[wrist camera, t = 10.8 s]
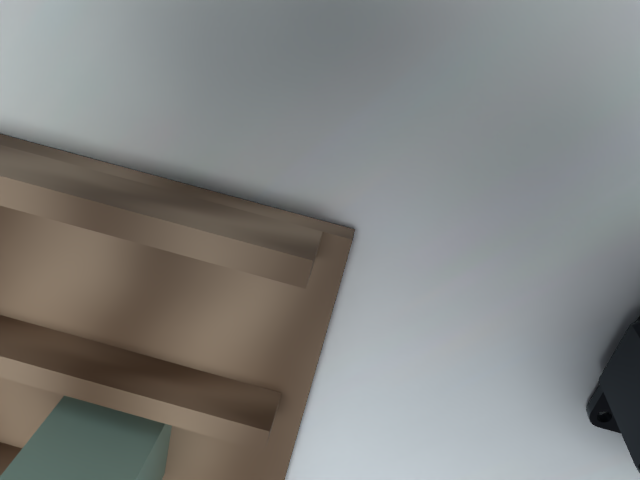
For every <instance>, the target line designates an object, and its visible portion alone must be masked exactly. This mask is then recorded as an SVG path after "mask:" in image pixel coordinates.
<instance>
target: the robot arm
mask: <svg viewBox="0 0 640 480" xmlns="http://www.w3.org/2000/svg"><path fill="white" fill-rule="evenodd" d="M599 383H600V385H599V387H598V388H597V390H596V392H595V393H594V395H593V397H592V398H591V400H590V402H589V404H588V405H587V409H586V411H587V414H588V417H589V420H590V422H591V423H592V424H593V425H595V426H597V427H600V428H603V429H607V430H611V431H614V432H618V433H621V434H622V436H623V438H624V441H625V443H626V445H627V448H628V450H629V452H630V454H631V457H632V459H633V461H634V464H635V466H636V468H637V470H638V472H639V473H640V317H639V318H638V320H637V321H636V322H635V323H633V324H632V325H630V326H629V328H628V330H627V332H626V333H625V335H624V337H623V339H622V340H621V342H620V344H619V345H618V347H617V349H616V351H615V352H614V354H613V356H612V357H611V359H610V361H609V363H608V364H607V366H606V368H605V369H604V371H603V373H602V375H601V376H600V378H599ZM603 411H607V413H605V414H602V415H601V414H599V413H600V412H603Z"/></svg>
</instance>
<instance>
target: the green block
mask: <svg viewBox="0 0 640 480" xmlns="http://www.w3.org/2000/svg"><path fill="white" fill-rule="evenodd" d="M171 429H172V426H171V425H168V424H164V423H161V422H157V421H154V420H150V419H146V418H143V417H139V416H136V415H132V414H129V413H125V412H122V411H118V410H114V409H111V408H107V407H104V406H100V405H97V404H93V403H90V402H86V401H83V400H79V399H75V398H72V397H68V396H65V395H64V397H63V398H62V399H61V400H60V402H59V403H58V404H57V405H56V407H55V408H54V409H53V410H52V412H51V413H50V414H49V415H48V417H47V418H46V419H45V420H44V422H43V423H42V424H41V426H40V427H39V428H38V429H37V431H36V432H35V433H34V434H33V436H32V437H31V438H30V439H29V441H28V442H27V443H26V444H25V446H24V447H23V448H22V449H21V451H20V452H19V453H18V454H17V456H16V457H15V458H14V460H13V461H12V462H11V463H10V465H9V466H8V467H7V468H6V470H5V471H4V472H3V473H2V475H1V476H0V480H162V478H163V476H164V474H165V467H166V461H167V455H168V448H169V442H170V435H171Z"/></svg>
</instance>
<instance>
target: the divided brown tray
mask: <svg viewBox="0 0 640 480" xmlns="http://www.w3.org/2000/svg"><path fill="white" fill-rule="evenodd" d="M354 231H355V229H351V228H348V227H344V226H340V225H337V224H333V223H329V222H325V221H322V220H318V219H314V218H311V217H307V216H303V215H299V214H296V213H292V212H288V211H285V210H281V209H277V208H273V207H270V206H266V205H262V204H259V203H255V202H251V201H247V200H244V199H240V198H236V197H233V196H229V195H225V194H221V193H218V192H214V191H210V190H207V189H203V188H199V187H195V186H192V185H188V184H184V183H181V182H177V181H173V180H169V179H166V178H162V177H158V176H155V175H151V174H147V173H143V172H140V171H136V170H132V169H129V168H125V167H121V166H117V165H114V164H110V163H106V162H103V161H99V160H95V159H91V158H88V157H84V156H80V155H77V154H73V153H69V152H65V151H62V150H58V149H54V148H51V147H47V146H43V145H39V144H36V143H32V142H28V141H25V140H21V139H17V138H13V137H10V136H6V135H2V134H0V476H1V475H2V473H3V472H4V471H5V470H6V468H7V467H8V466H9V465H10V463H11V462H12V461H13V460H14V458H15V457H16V456H17V454H18V453H19V452H20V451H21V449H22V448H23V447H24V446H25V444H26V443H27V442H28V441H29V439H30V438H31V437H32V436H33V434H34V433H35V432H36V431H37V429H38V428H39V427H40V426H41V424H42V423H43V422H44V420H45V419H46V418H47V417H48V415H49V414H50V413H51V412H52V410H53V409H54V408H55V407H56V405H57V404H58V403H59V402H60V400H61V399H62V398H63V397H64V395H65V396H68V397H72V398H75V399H79V400H83V401H86V402H90V403H93V404H97V405H100V406H104V407H107V408H111V409H114V410H118V411H122V412H125V413H129V414H132V415H136V416H139V417H143V418H146V419H150V420H154V421H157V422H161V423H164V424H168V425H171V426H172V429H171V435H170V442H169V448H168V455H167V461H166V467H165V474H164V476H163V478H162V480H284V479H285V476H286V472H287V469H288V465H289V462H290V458H291V455H292V451H293V448H294V444H295V441H296V437H297V434H298V430H299V427H300V423H301V420H302V416H303V413H304V409H305V406H306V402H307V399H308V395H309V392H310V388H311V384H312V381H313V377H314V374H315V370H316V367H317V363H318V360H319V356H320V353H321V349H322V346H323V342H324V339H325V335H326V332H327V328H328V325H329V321H330V318H331V314H332V311H333V307H334V304H335V300H336V297H337V293H338V290H339V286H340V283H341V279H342V276H343V272H344V269H345V265H346V262H347V258H348V254H349V251H350V247H351V244H352V240H353V236H354Z"/></svg>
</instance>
